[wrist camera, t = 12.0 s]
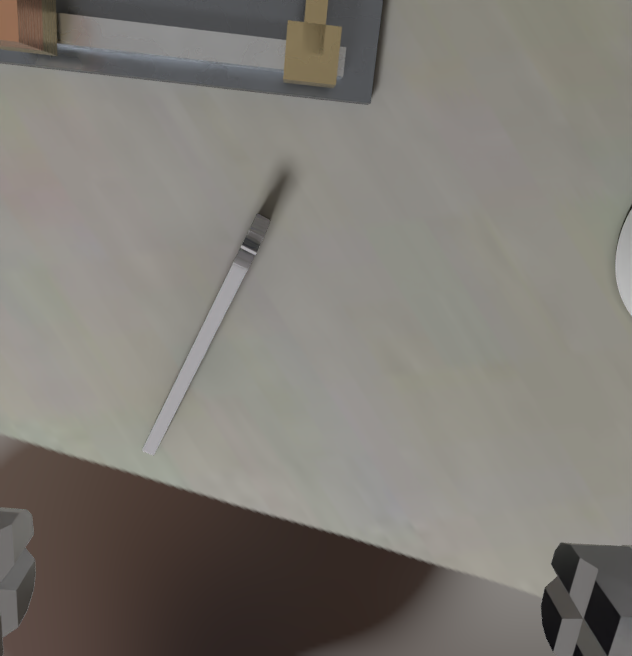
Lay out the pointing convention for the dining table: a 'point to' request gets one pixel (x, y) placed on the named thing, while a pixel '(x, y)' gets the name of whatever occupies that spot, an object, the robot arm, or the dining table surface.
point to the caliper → (208, 330)
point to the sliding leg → (28, 26)
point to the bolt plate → (231, 23)
